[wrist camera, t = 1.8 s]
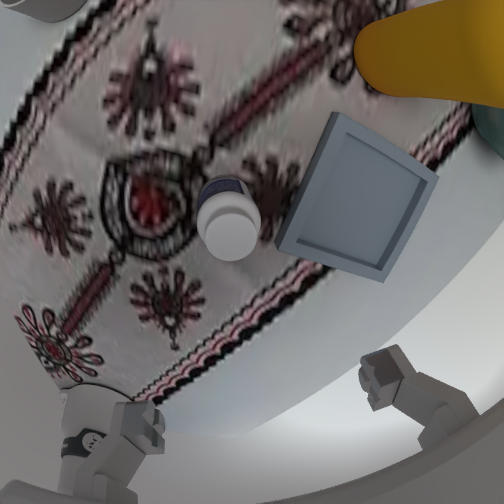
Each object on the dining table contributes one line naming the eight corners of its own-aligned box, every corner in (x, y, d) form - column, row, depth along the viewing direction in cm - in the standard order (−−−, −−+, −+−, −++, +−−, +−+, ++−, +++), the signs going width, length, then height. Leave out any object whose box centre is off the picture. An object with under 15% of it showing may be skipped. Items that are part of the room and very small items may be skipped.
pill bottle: (188, 204, 30) (180, 245, 21) (220, 163, 28) (225, 188, 20) (228, 232, 32) (236, 281, 23) (260, 195, 31) (281, 232, 22)
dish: (376, 275, 38) (383, 283, 36) (274, 242, 33) (277, 250, 32) (429, 172, 32) (439, 176, 30) (332, 112, 27) (339, 112, 25)
